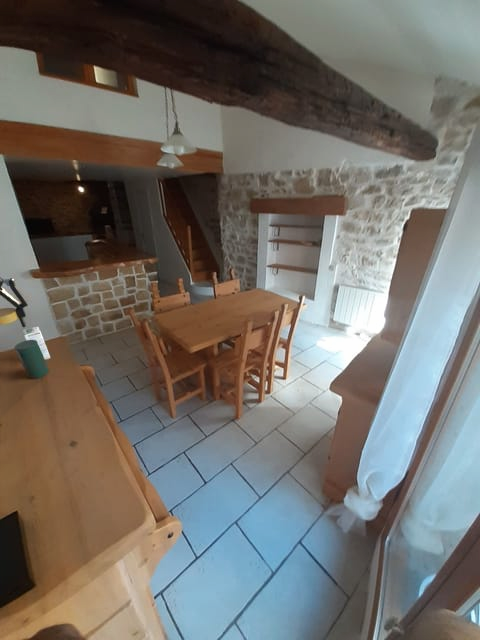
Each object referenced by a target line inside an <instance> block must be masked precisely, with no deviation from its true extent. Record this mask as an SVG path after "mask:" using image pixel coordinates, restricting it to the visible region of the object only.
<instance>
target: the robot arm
mask: <svg viewBox="0 0 480 640" xmlns="http://www.w3.org/2000/svg"><path fill="white" fill-rule="evenodd" d="M3 284H5V285H6V286H7V287H9V288H10V290H11V291H12V292H13V294H14V296H15V297H16V298H17V299H18V300H17V299H15V298H14V297H13V295H11V294H10V293H8V292H7V291H6V289H4V288H3V287H2V286H3ZM0 296H1V297H2V298H3V299H4V300H6V301H7V302H9V304H11V305H12V306H13V307H14V308H15V309H16V313H17V315H18V320H19V322H20V324H21V327H22V328H26V326H27V323H26V321H25V319H24V318H26V317H27V314H26V312H25V307H28V305H29V302H28V300H27V299H26V298H25V297H24V295H23V293H22V292H21V291H20V290H19V287H17V285H16V282H15V279H14V278H12V277H11V278H4V279H3V278H2V277H1V276H0Z"/></svg>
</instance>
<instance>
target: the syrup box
mask: <svg viewBox="0 0 480 640" xmlns="http://www.w3.org/2000/svg"><path fill="white" fill-rule="evenodd" d="M22 333H23V336H24V339H25V341H27V340H36V341H37V343H38V345H39V347H40V349H41V352H42V354H43V356H44V359H45V361H46V360H49V359H51V355H50V352H49V350H48V347H47V344H46V342H45V339H44V336H43V335H42V331H41V330H40V327H39V326H33V327H30V328H25V329H23V330H22Z"/></svg>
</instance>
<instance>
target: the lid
mask: <svg viewBox="0 0 480 640" xmlns="http://www.w3.org/2000/svg"><path fill="white" fill-rule="evenodd" d="M17 320H19V318H18V315H17V313H16V307H3V308H0V326H5V325H8V324H11V323H13V322H16V321H17Z"/></svg>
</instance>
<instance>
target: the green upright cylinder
mask: <svg viewBox="0 0 480 640" xmlns="http://www.w3.org/2000/svg"><path fill="white" fill-rule="evenodd" d="M14 350H15V353H16V355H17V357H18V359H19V361H20V363H21V365H22V367H23V369H24V371H25V374H26V376H27V377H28V379H30V380H37V379H40V378H43V377H45V376H47V375H48V374H49V373H50V368H49V365H48V363H47V361H46V360H45V359H44V356H43V354H42V352H41V349H40V347H39V345H38V343H37V341H36V340H27V341H26V340H23V341H21V342H19V343H16V344H15V346H14Z"/></svg>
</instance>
